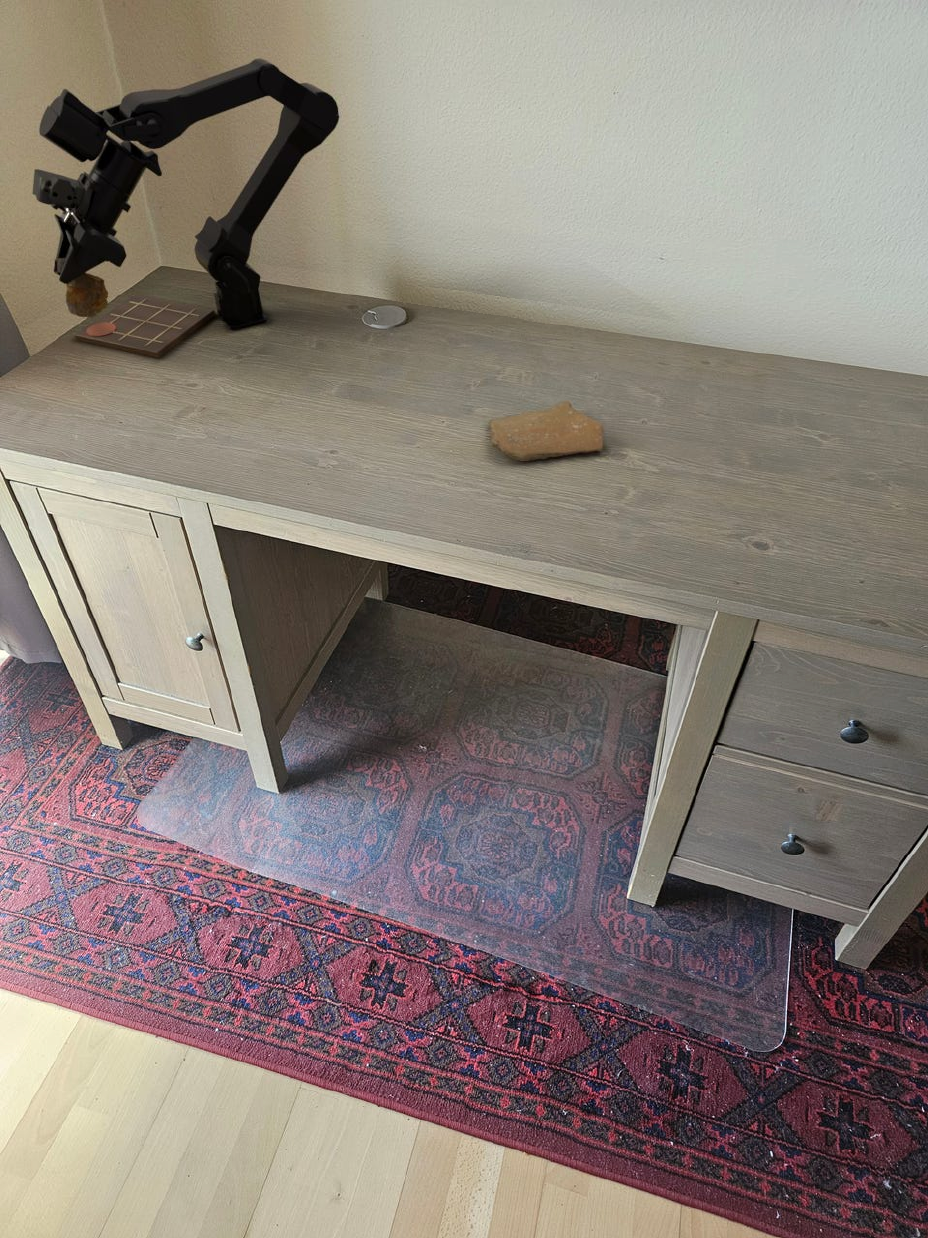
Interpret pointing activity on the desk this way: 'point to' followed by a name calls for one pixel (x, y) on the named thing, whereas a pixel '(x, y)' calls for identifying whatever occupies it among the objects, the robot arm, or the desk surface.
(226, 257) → the robot arm
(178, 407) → the desk surface
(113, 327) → the board
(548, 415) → the stone
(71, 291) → the rock
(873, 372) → the desk surface
